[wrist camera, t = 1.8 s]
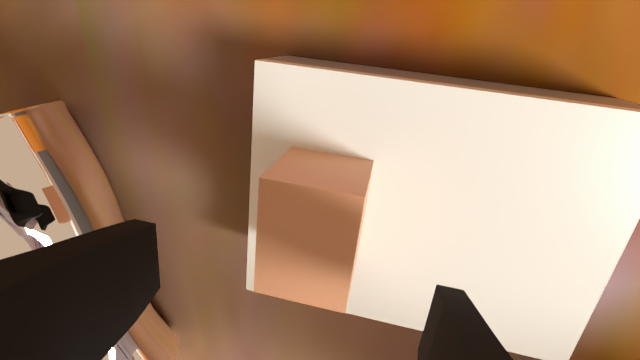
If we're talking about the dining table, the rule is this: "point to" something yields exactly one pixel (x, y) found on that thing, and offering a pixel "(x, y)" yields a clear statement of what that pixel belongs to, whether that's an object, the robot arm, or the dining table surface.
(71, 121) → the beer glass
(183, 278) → the dining table surface
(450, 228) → the lid
